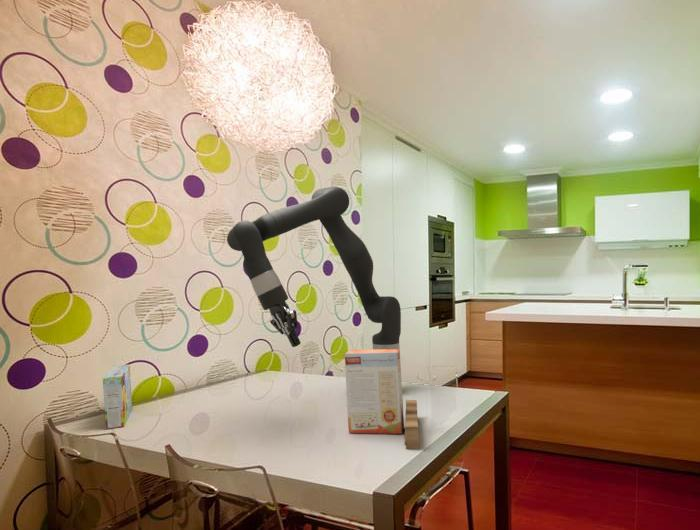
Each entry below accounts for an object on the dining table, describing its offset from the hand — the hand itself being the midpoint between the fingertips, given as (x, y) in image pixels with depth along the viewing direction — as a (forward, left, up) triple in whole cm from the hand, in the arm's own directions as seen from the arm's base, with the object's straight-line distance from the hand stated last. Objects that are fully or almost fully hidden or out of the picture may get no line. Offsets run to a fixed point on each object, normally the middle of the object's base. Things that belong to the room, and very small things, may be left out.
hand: (296, 345), depth 131 cm
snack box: (-9, -59, -22) cm, 64 cm away
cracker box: (+4, +21, -22) cm, 31 cm away
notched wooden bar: (+5, +31, -22) cm, 38 cm away
